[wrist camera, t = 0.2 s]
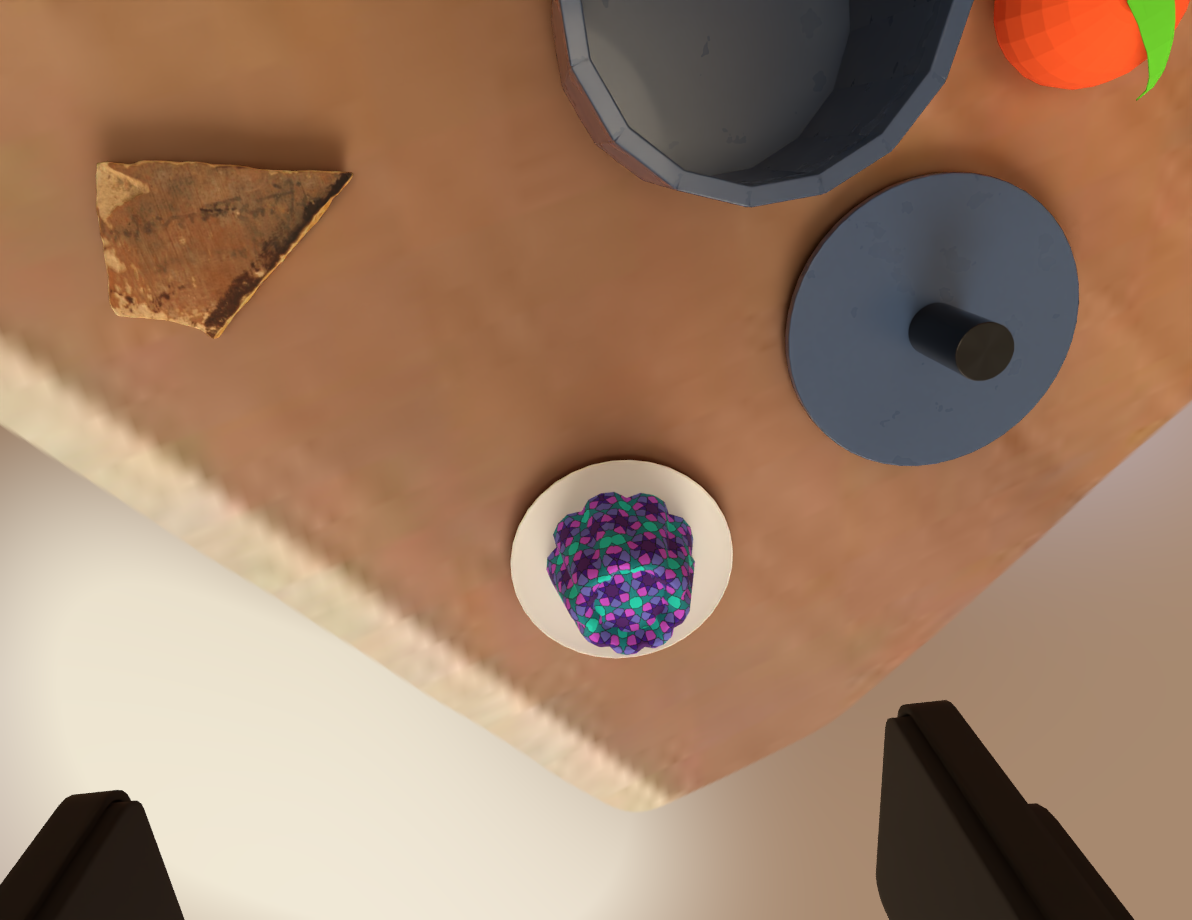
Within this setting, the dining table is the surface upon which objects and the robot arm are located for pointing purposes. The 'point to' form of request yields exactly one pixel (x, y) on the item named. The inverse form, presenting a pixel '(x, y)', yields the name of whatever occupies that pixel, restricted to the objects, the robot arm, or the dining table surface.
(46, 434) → the dining table surface
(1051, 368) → the lid
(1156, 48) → the clementine
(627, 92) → the tin
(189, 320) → the shard
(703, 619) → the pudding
